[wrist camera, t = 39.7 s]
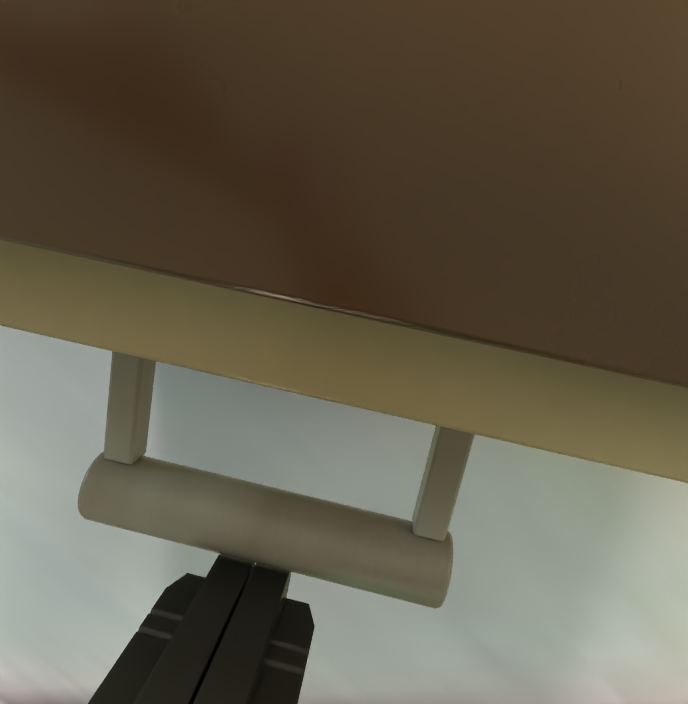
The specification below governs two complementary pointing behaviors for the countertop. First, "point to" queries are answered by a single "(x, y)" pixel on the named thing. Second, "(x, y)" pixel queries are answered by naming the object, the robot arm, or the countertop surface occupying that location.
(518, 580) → the countertop surface
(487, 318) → the cabinet
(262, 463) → the countertop surface
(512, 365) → the drawer
